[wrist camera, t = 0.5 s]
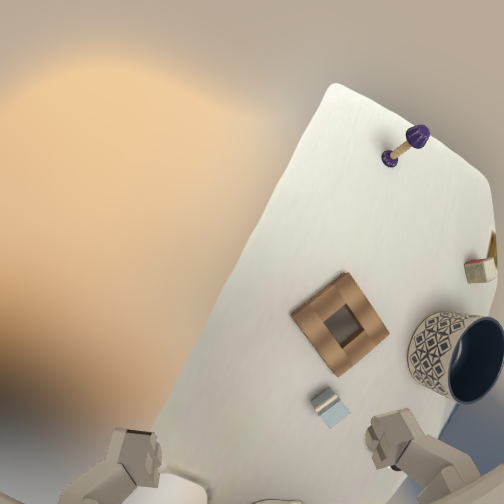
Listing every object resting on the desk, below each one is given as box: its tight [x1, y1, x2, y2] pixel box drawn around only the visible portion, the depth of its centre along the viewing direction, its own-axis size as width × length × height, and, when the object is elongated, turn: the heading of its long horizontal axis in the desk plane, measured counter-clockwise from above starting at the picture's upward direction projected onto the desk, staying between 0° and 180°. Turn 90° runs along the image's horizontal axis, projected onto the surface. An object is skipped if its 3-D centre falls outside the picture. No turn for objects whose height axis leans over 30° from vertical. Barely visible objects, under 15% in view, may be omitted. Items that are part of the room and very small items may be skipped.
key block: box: [311, 387, 351, 428], centre depth 54 cm, size 5×5×8 cm
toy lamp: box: [382, 125, 430, 167], centre depth 56 cm, size 5×5×17 cm
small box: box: [464, 258, 497, 283], centre depth 58 cm, size 5×4×8 cm
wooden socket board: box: [291, 273, 390, 377], centre depth 58 cm, size 16×14×3 cm
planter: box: [408, 312, 504, 405], centre depth 51 cm, size 18×18×16 cm
